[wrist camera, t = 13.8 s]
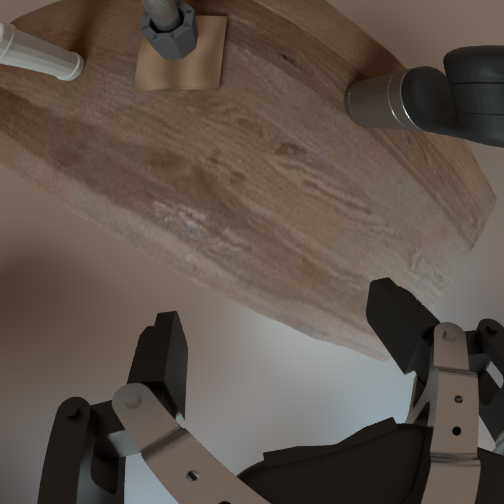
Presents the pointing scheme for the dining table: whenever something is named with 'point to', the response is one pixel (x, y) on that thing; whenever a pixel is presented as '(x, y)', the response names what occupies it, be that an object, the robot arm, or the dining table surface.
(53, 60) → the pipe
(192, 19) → the collar
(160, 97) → the dining table surface
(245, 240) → the dining table surface
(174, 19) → the post
